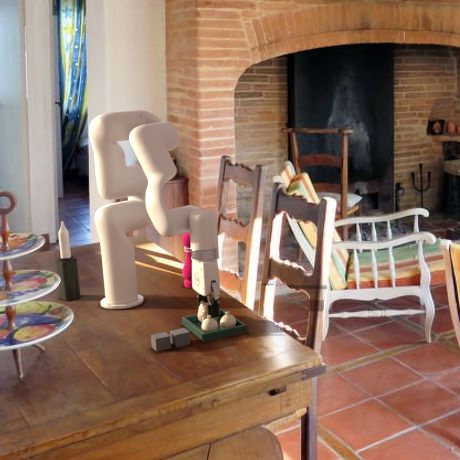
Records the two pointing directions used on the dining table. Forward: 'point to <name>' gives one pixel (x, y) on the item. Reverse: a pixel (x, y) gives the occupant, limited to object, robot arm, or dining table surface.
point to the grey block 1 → (161, 341)
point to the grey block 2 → (180, 337)
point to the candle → (67, 268)
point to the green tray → (196, 328)
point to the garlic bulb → (204, 312)
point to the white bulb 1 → (209, 325)
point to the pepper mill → (187, 261)
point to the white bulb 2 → (227, 321)
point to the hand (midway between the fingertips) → (208, 313)
